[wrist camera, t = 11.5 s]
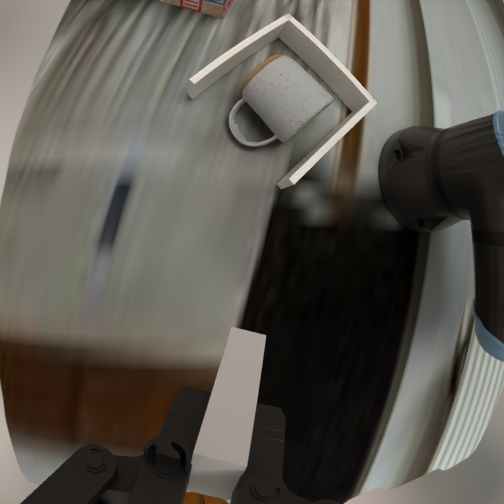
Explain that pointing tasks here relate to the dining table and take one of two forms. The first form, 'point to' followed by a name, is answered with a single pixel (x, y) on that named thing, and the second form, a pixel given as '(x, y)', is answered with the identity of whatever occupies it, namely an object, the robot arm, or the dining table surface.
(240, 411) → the robot arm
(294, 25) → the white u-shaped bracket
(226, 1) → the stack of blocks
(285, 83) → the ceramic mug
